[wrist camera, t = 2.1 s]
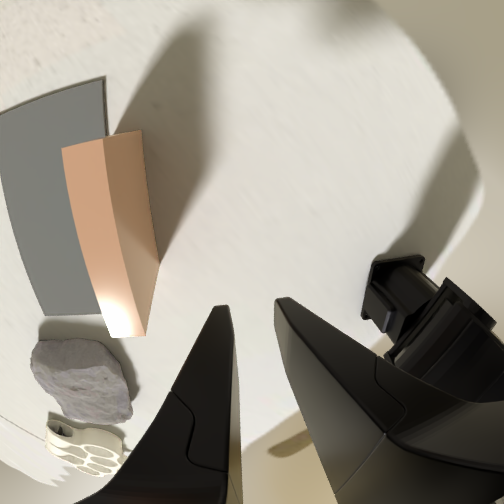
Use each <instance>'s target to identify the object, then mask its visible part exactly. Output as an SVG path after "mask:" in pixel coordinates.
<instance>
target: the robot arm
mask: <svg viewBox="0 0 504 504" xmlns="http://www.w3.org/2000/svg"><path fill="white" fill-rule="evenodd" d="M424 261H425V258H424V257H423V256H422V255H416V256H409V257H402V258H395V259H388V260H381V261H376V262H374V263H373V264H372V265H371V269H370V275H369V280H368V285H367V288H366V292H365V297H364V301H363V306H362V312H361V317H362V319H363V320H368V319H372V320H373V322H374V323H375V324H376V326H377V327H378V328H379V330H380V331H381V332H382V333H386V334H387V335H388V336H389V338H390V339H391V341H392V342H393V343H394V346H393V347H392V348H391V349H390V350H389V351H387V352H386V353H385V354H384V358H385V359H383V358H382V357H380V356H377V355H376V354H375V353H373V352H372V351H371V350H369V349H368V348H366V347H364V346H363V345H361V344H360V343H358V342H357V341H355V340H354V339H352V338H351V337H349V336H348V335H346V334H345V333H343V332H341V331H340V330H338V329H337V328H335V327H334V326H332V325H331V324H329V323H328V322H326V321H325V320H323V319H322V318H320V317H319V316H317V315H316V314H314V313H313V312H311V311H310V310H308V309H307V308H305V307H304V306H302V305H301V304H299V303H298V302H296V301H295V300H293V299H292V298H290V297H284V298H277V299H276V300H275V302H274V327H275V331H276V336H277V340H278V344H279V348H280V352H281V356H282V360H283V364H284V368H285V372H286V375H287V378H288V380H289V383H290V385H291V388H292V390H293V393H294V396H295V398H296V401H297V403H298V406H299V408H300V411H301V413H302V415H303V418H304V421H305V423H306V426H307V428H308V431H309V433H310V436H311V438H312V441H313V443H314V445H315V448H316V450H317V453H318V456H319V458H320V461H321V463H322V465H323V468H324V470H325V473H326V475H327V478H328V480H329V482H330V485H331V487H332V490H333V492H334V494H335V497H336V500H337V502H338V504H504V344H503V342H502V341H501V340H500V339H499V337H498V336H497V335H496V334H495V333H494V332H493V331H492V329H493V327H494V326H495V325H496V323H497V322H496V321H495V320H494V319H493V318H492V317H491V316H490V315H489V314H488V313H487V312H486V311H484V309H482V308H481V307H480V306H479V305H478V304H477V303H476V302H475V301H474V300H473V299H472V298H470V297H469V296H468V295H467V294H466V293H465V292H464V291H462V290H461V289H460V288H459V287H458V286H457V285H456V284H454V283H453V282H452V281H451V280H450V279H448V278H447V277H446V278H445V279H444V281H443V284H442V285H441V287H438V286H437V285H436V284H435V283H434V282H433V281H432V280H431V279H430V278H428V277H427V276H426V275H425V274H424V273H423V272H422V269H423V265H424ZM376 267H377V268H376ZM74 504H243V490H242V467H241V436H240V402H239V377H238V367H237V357H236V347H235V336H234V328H233V323H232V318H231V313H230V308H229V306H228V305H218V306H214V307H213V309H212V311H211V313H210V315H209V317H208V318H207V320H206V322H205V324H204V326H203V328H202V330H201V332H200V334H199V336H198V338H197V339H196V341H195V343H194V345H193V347H192V349H191V351H190V353H189V355H188V357H187V359H186V361H185V363H184V364H183V366H182V368H181V370H180V372H179V374H178V376H177V378H176V380H175V382H174V384H173V386H172V388H171V391H170V392H169V393H168V395H167V397H166V399H165V401H164V403H163V405H162V406H161V408H160V410H159V412H158V414H157V415H156V417H155V419H154V420H153V422H152V423H151V425H150V426H149V428H148V429H147V431H146V432H145V434H144V435H143V437H142V438H141V440H140V441H139V442H138V444H137V445H136V447H135V448H134V449H133V451H132V452H131V454H130V455H129V456H128V458H127V459H126V460H125V462H124V463H123V465H122V466H121V467H120V469H119V470H118V472H117V473H116V474H115V475H114V477H113V478H112V479H111V480H110V481H109V482H108V483H107V484H106V485H105V486H104V487H103V488H102V489H100V490H99V491H97V492H96V493H94V494H92V495H90V496H89V497H86V498H84V499H82V500H80V501H78V502H76V503H74Z"/></svg>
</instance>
